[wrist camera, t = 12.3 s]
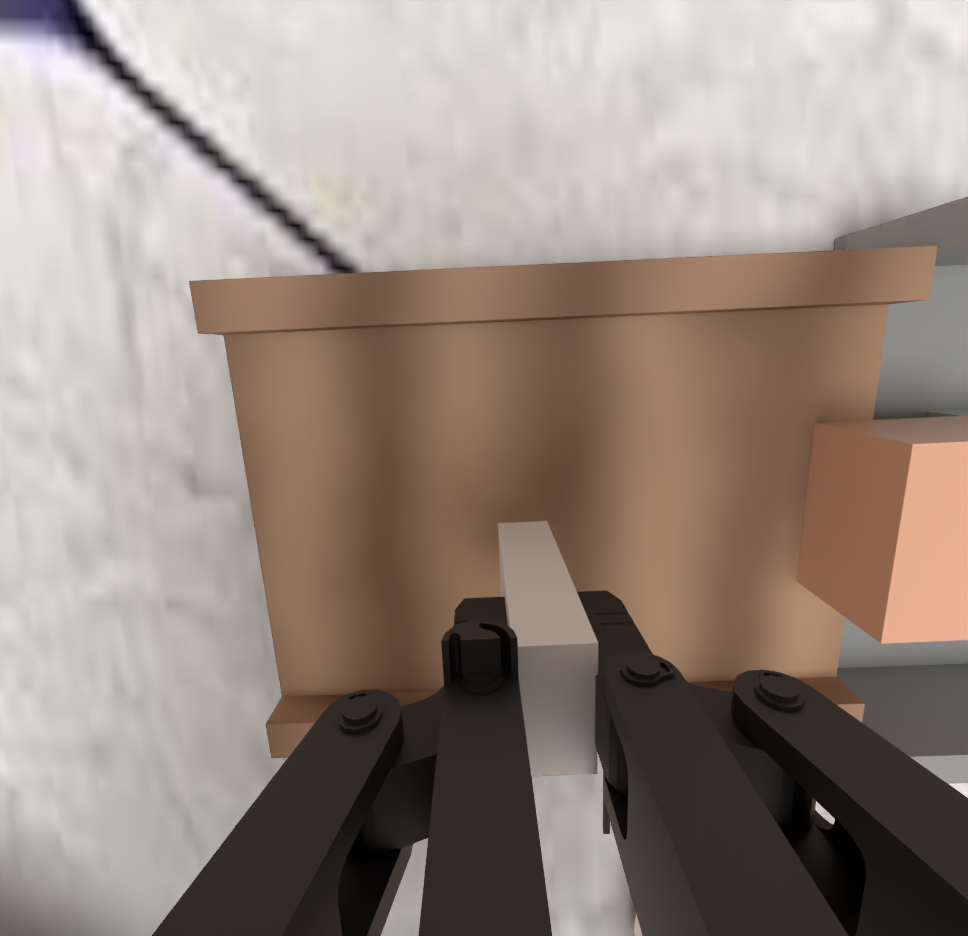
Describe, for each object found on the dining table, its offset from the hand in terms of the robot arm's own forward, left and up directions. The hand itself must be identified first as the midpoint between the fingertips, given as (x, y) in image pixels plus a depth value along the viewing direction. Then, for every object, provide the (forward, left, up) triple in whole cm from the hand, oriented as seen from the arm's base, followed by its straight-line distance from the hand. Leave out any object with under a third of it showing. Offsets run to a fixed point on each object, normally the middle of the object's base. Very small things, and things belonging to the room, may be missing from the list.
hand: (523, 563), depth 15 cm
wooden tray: (+1, 0, -6) cm, 6 cm away
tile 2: (+13, 0, -3) cm, 14 cm away
